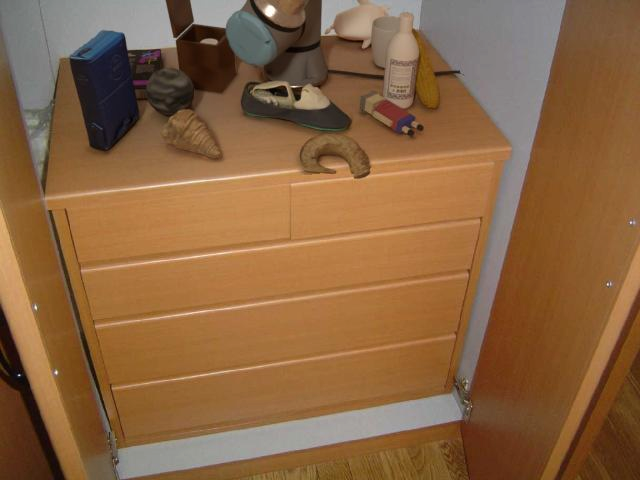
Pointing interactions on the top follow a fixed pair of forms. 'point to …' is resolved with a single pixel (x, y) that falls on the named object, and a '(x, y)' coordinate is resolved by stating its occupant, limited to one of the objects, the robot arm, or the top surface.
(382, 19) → the mug
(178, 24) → the lid
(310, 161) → the artifact
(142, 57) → the box
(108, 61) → the blue rectangular carton
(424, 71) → the food
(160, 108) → the decorative stone
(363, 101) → the toy
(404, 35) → the bath foam
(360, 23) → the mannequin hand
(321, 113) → the ballet flat
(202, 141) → the seashell
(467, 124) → the top surface
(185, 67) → the chest
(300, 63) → the robot arm
